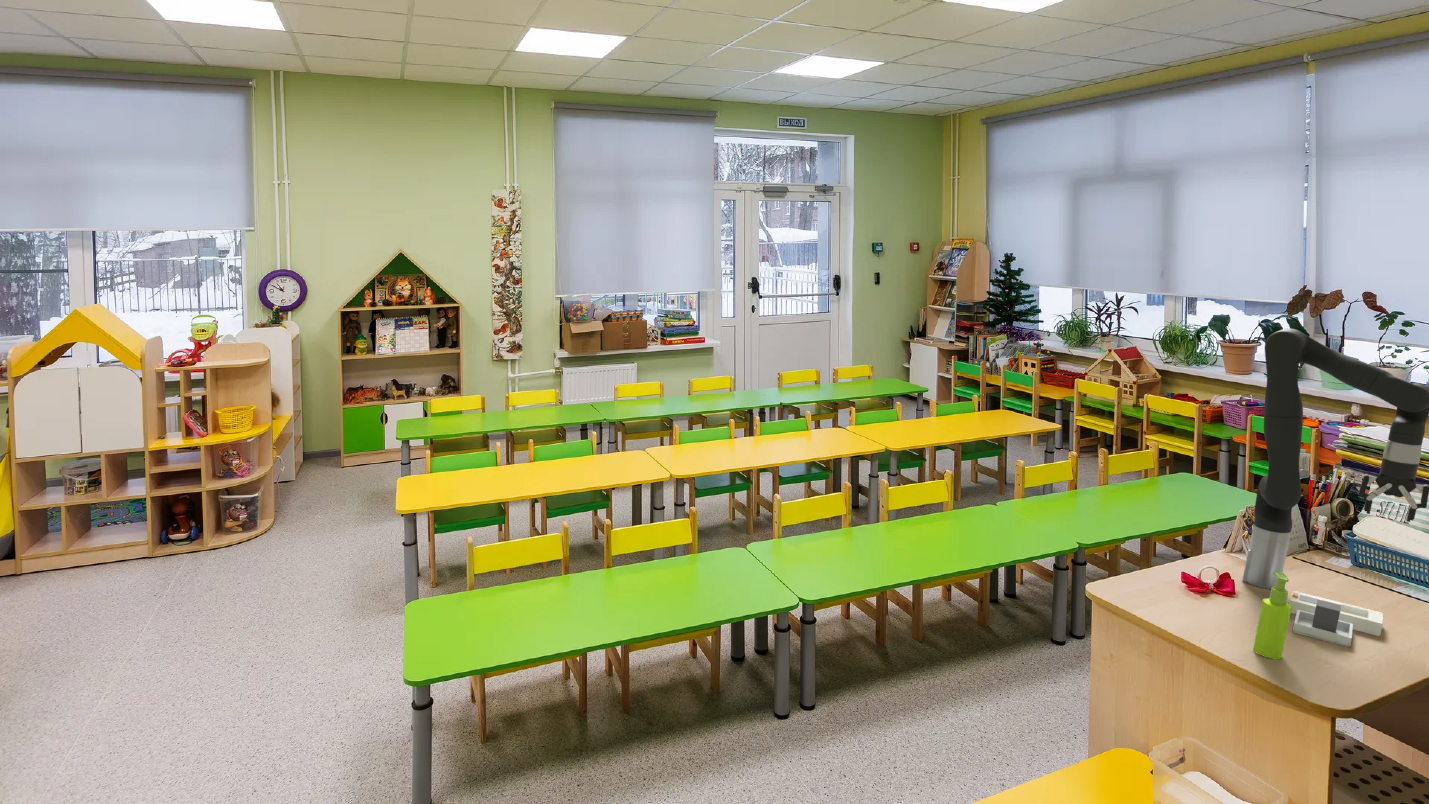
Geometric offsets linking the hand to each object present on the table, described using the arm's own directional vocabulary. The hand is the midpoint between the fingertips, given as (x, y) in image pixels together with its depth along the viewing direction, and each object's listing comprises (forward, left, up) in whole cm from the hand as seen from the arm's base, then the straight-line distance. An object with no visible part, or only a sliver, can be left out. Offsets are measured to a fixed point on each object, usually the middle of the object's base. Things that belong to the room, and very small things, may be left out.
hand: (1387, 517), depth 226 cm
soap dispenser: (-19, -47, -28) cm, 58 cm away
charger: (-9, -23, -28) cm, 37 cm away
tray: (-9, -23, -28) cm, 37 cm away
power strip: (-7, -10, -28) cm, 31 cm away
